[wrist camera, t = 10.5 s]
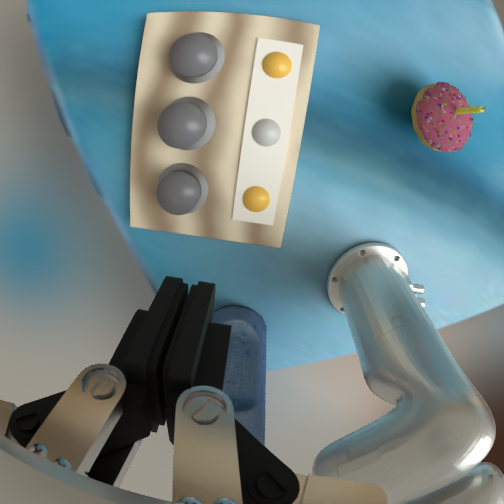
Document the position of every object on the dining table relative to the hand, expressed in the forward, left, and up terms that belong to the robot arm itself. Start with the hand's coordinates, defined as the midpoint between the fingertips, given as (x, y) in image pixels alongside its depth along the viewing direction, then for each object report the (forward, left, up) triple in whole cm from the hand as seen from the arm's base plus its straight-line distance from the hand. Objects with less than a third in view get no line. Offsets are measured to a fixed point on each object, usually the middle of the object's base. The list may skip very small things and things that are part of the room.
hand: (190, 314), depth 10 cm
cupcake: (-22, -11, -29) cm, 38 cm away
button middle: (+7, -4, -26) cm, 27 cm away
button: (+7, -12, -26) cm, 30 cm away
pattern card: (-2, -4, -27) cm, 27 cm away
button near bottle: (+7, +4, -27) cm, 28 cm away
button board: (+4, -4, -29) cm, 30 cm away
